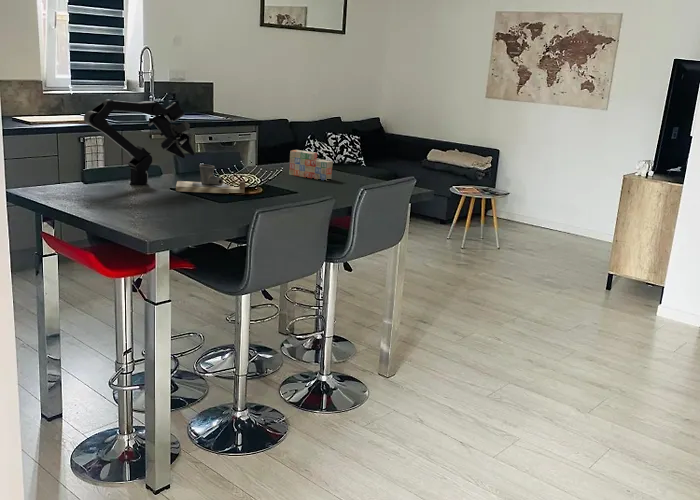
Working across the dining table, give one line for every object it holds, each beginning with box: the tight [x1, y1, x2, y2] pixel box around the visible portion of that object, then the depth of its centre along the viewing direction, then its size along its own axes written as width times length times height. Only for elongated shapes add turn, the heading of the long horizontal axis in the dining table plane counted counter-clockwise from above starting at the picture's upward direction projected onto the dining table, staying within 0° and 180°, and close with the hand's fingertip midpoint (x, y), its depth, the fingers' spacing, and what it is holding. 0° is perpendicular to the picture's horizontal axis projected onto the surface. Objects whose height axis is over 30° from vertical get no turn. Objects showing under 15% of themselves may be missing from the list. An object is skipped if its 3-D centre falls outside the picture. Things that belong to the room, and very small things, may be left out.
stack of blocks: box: [288, 149, 334, 181], centre depth 344 cm, size 21×6×12 cm, turn 62°
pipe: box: [198, 163, 224, 186], centre depth 293 cm, size 6×13×8 cm, turn 53°
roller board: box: [175, 180, 246, 194], centre depth 294 cm, size 28×12×5 cm, turn 101°
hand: (189, 156), depth 294 cm, fingers open, 9 cm apart
